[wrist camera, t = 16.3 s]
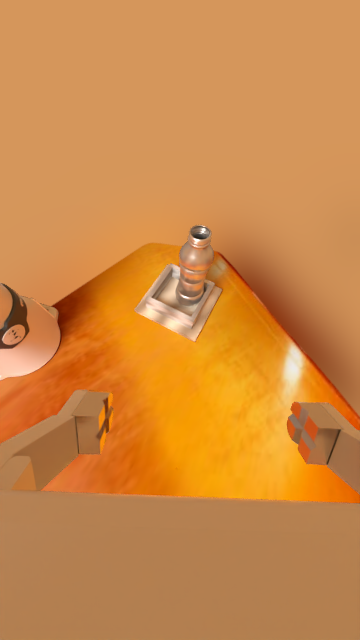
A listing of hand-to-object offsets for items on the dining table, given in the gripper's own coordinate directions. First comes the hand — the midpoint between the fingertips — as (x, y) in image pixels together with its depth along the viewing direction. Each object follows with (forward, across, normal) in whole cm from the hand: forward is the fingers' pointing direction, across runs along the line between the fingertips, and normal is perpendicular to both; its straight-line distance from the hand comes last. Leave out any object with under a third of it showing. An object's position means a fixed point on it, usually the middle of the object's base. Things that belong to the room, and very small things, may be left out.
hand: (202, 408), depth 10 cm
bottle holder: (+45, 0, +5) cm, 45 cm away
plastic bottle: (+44, -2, +4) cm, 45 cm away
